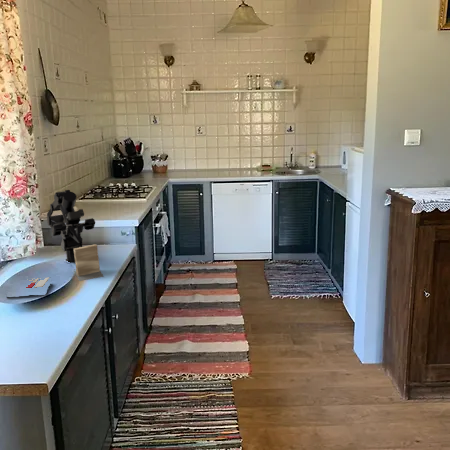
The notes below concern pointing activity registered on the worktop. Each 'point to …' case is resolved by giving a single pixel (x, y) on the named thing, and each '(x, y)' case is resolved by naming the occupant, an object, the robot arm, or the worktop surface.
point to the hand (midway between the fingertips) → (79, 242)
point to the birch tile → (86, 260)
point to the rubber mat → (90, 276)
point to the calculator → (39, 283)
